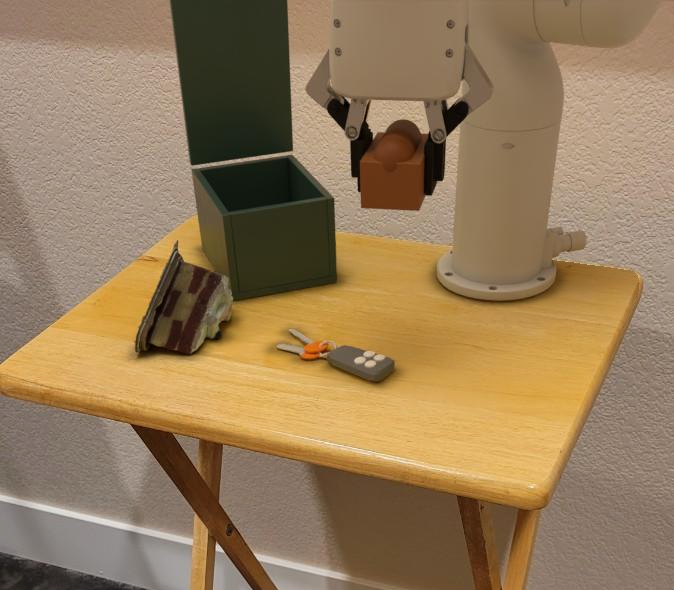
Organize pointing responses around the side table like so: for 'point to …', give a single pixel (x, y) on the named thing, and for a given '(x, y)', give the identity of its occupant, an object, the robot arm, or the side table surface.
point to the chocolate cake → (185, 307)
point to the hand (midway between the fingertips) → (397, 185)
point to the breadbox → (266, 225)
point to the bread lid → (234, 77)
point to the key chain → (345, 357)
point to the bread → (394, 169)
